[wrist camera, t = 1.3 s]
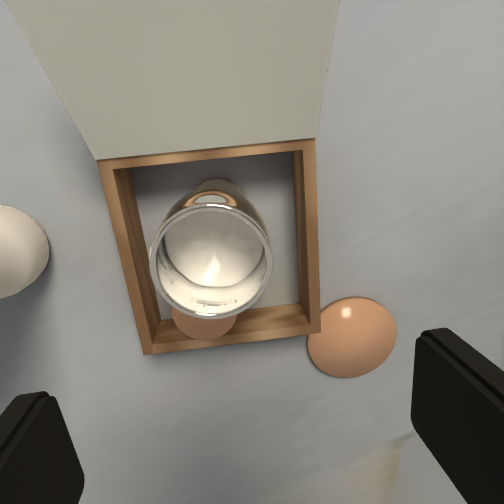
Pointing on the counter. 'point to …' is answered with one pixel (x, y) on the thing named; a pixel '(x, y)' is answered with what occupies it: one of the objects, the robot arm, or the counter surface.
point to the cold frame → (249, 321)
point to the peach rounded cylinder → (202, 325)
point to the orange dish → (352, 337)
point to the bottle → (20, 251)
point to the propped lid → (183, 69)
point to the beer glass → (212, 252)
